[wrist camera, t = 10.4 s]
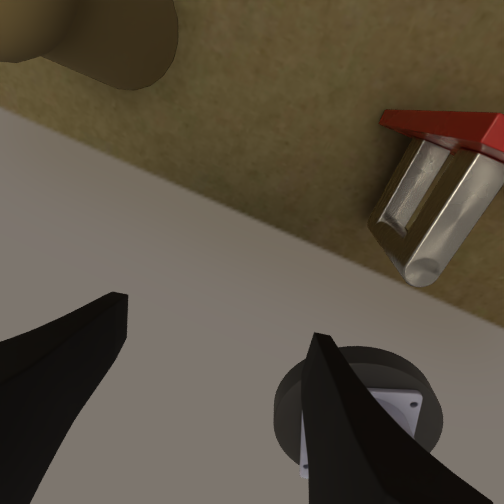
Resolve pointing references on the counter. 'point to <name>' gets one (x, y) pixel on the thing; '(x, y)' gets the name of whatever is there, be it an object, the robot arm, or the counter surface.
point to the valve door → (437, 187)
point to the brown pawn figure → (93, 37)
